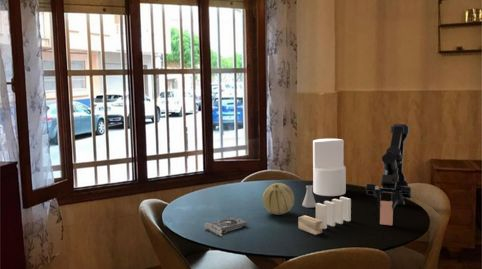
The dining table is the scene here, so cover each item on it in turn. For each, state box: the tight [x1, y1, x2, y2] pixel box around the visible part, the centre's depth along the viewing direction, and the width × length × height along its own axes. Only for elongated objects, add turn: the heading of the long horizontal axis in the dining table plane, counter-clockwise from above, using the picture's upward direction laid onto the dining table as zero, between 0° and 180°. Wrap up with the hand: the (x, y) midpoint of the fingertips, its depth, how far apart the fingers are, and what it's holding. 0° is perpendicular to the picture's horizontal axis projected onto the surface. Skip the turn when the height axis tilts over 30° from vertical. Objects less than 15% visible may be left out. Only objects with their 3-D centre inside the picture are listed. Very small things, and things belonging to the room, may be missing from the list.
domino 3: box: [331, 198, 344, 225], centre depth 210 cm, size 2×5×10 cm, turn 36°
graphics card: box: [204, 216, 248, 237], centre depth 206 cm, size 17×4×12 cm
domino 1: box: [315, 202, 328, 230], centre depth 204 cm, size 2×5×10 cm, turn 36°
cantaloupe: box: [262, 182, 295, 216], centre depth 224 cm, size 15×15×15 cm
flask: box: [301, 185, 316, 209], centre depth 236 cm, size 7×7×10 cm
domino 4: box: [339, 196, 352, 222], centre depth 213 cm, size 2×5×10 cm, turn 36°
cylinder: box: [312, 138, 347, 197], centre depth 259 cm, size 17×17×28 cm
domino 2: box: [323, 200, 336, 227], centre depth 207 cm, size 2×5×10 cm, turn 37°
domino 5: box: [379, 200, 394, 226], centre depth 205 cm, size 2×5×10 cm, turn 64°
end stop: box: [297, 215, 323, 236], centre depth 201 cm, size 4×10×5 cm, turn 36°
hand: (385, 207), depth 203 cm, fingers closed on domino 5, 5 cm apart
